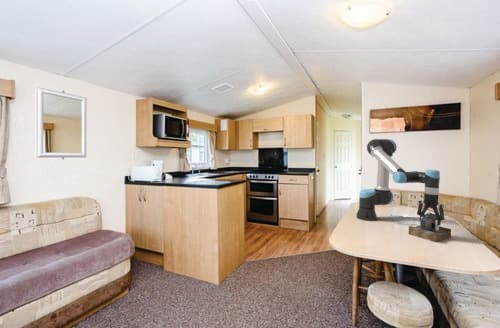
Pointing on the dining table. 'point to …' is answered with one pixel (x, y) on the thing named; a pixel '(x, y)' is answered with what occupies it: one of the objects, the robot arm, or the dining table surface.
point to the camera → (428, 221)
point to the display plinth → (431, 233)
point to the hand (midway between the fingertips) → (429, 227)
